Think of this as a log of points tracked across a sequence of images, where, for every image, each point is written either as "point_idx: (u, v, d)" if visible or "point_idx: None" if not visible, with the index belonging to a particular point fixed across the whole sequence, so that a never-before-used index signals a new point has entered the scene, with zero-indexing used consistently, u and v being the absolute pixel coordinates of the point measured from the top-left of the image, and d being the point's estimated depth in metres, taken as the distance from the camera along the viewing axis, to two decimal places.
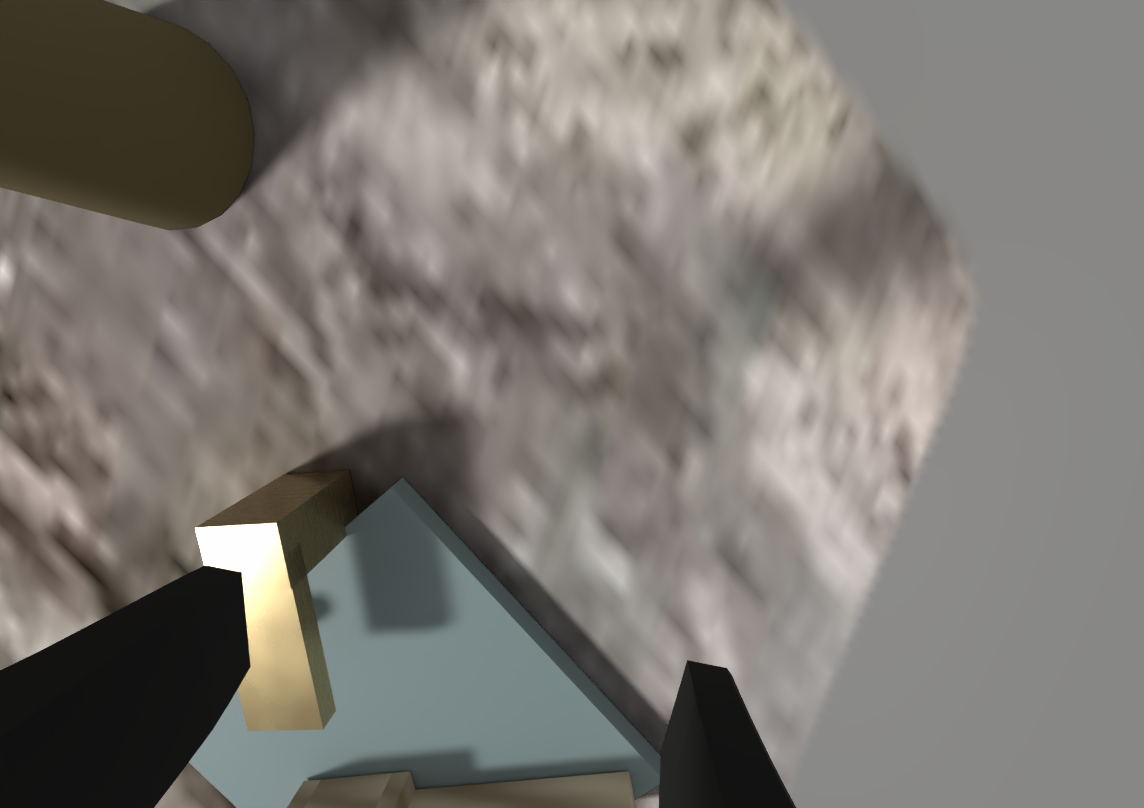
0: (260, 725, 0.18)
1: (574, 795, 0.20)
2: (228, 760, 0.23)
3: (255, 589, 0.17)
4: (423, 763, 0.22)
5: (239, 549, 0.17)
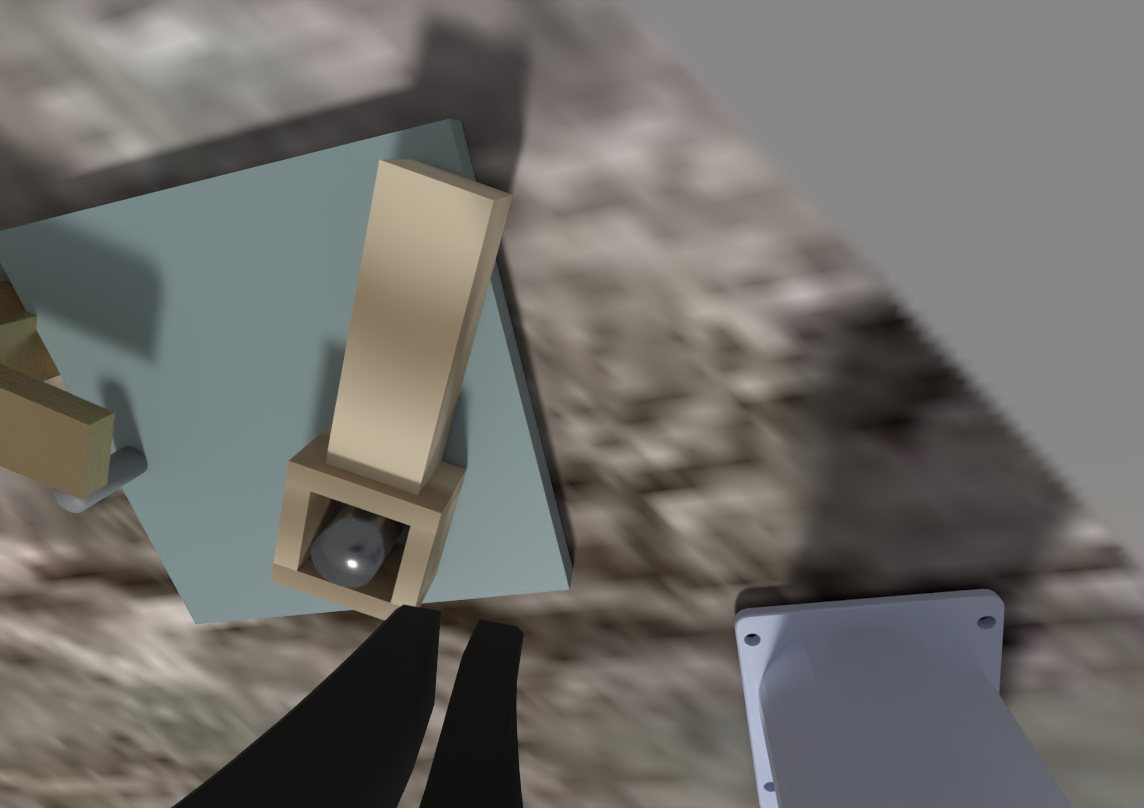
0: (76, 483, 0.16)
1: None
2: (272, 584, 0.21)
3: None
4: (331, 404, 0.18)
5: None
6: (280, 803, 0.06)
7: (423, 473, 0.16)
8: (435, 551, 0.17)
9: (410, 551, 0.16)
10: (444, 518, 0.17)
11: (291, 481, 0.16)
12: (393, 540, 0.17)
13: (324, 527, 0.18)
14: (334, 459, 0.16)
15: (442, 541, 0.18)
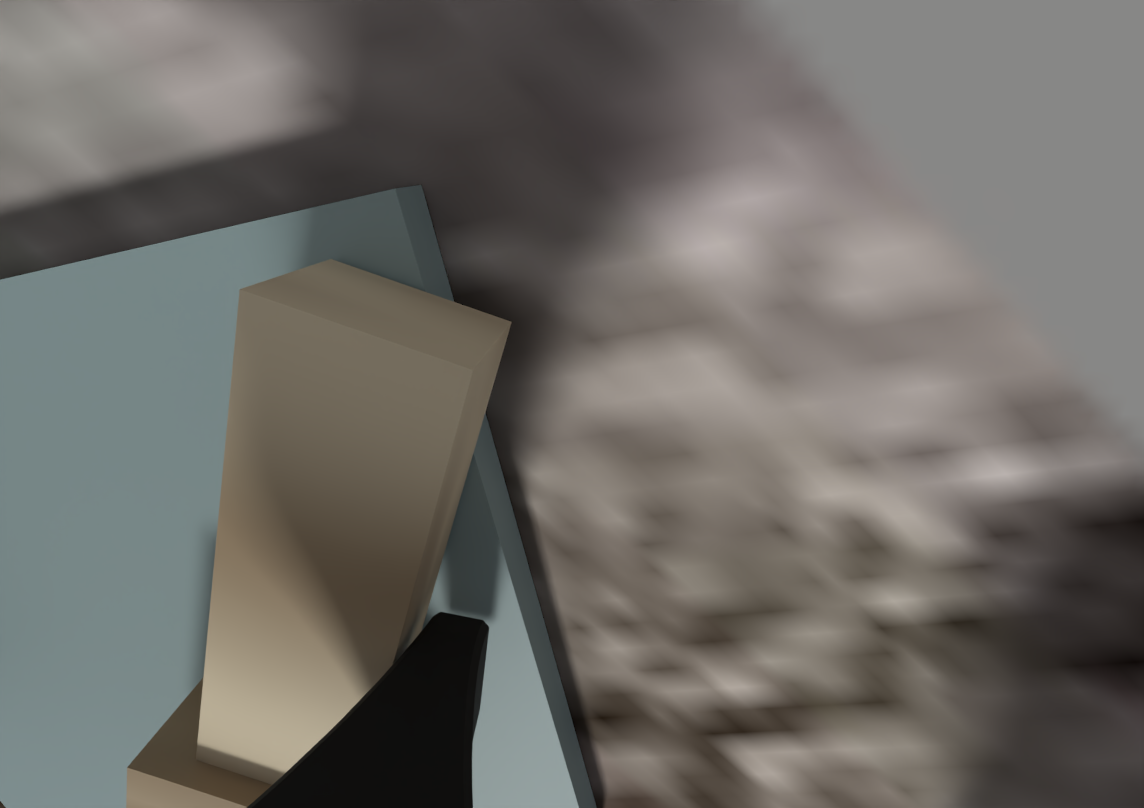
0: None
1: None
2: None
3: None
4: None
5: None
6: None
7: None
8: None
9: None
10: None
11: (139, 790, 0.09)
12: None
13: None
14: (210, 754, 0.09)
15: None
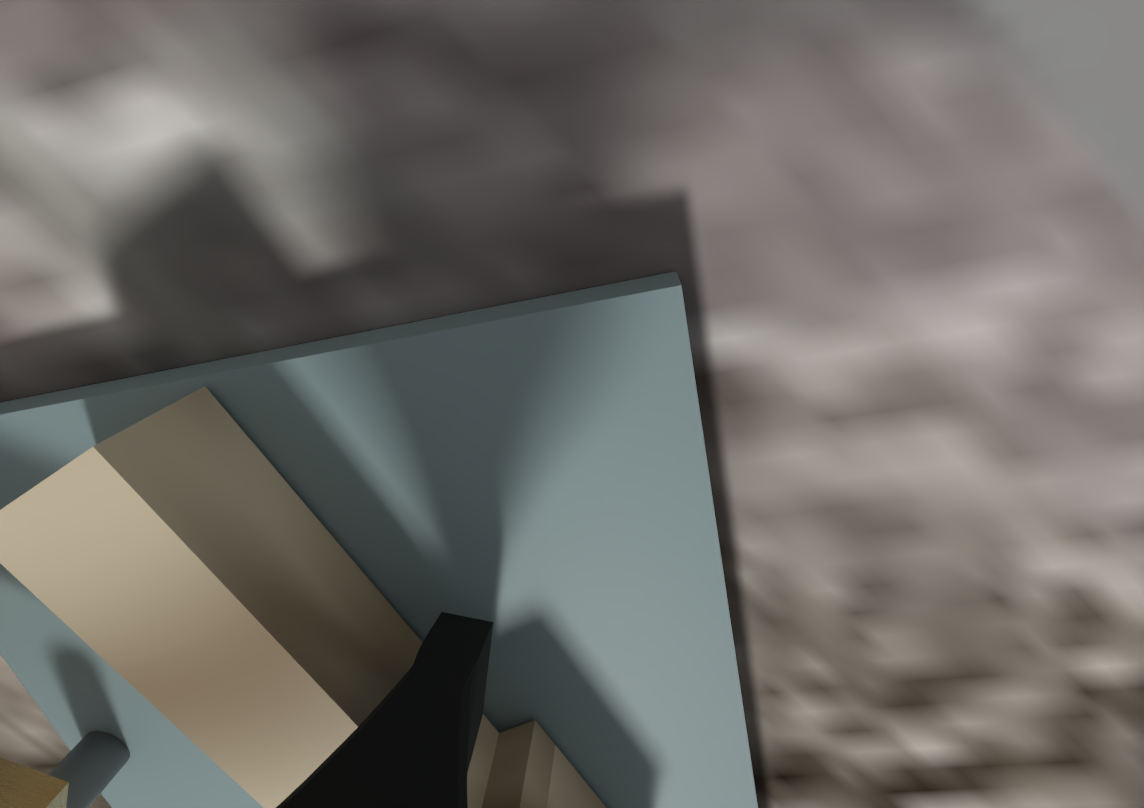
0: None
1: None
2: None
3: None
4: None
5: None
6: None
7: None
8: None
9: None
10: None
11: None
12: None
13: None
14: None
15: None
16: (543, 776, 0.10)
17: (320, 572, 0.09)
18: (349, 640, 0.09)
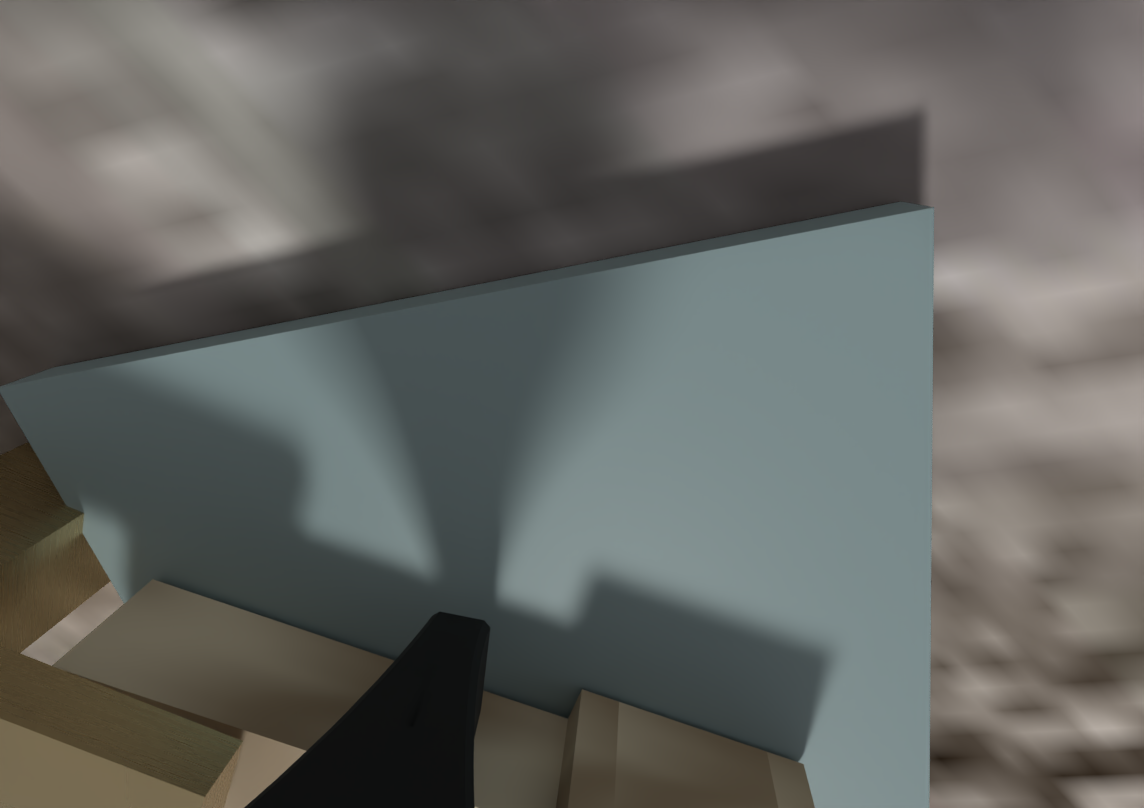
0: None
1: None
2: None
3: None
4: (582, 660, 0.10)
5: None
6: None
7: None
8: None
9: None
10: (616, 789, 0.09)
11: None
12: None
13: None
14: None
15: (703, 766, 0.10)
16: (605, 735, 0.10)
17: (303, 665, 0.10)
18: (348, 706, 0.10)
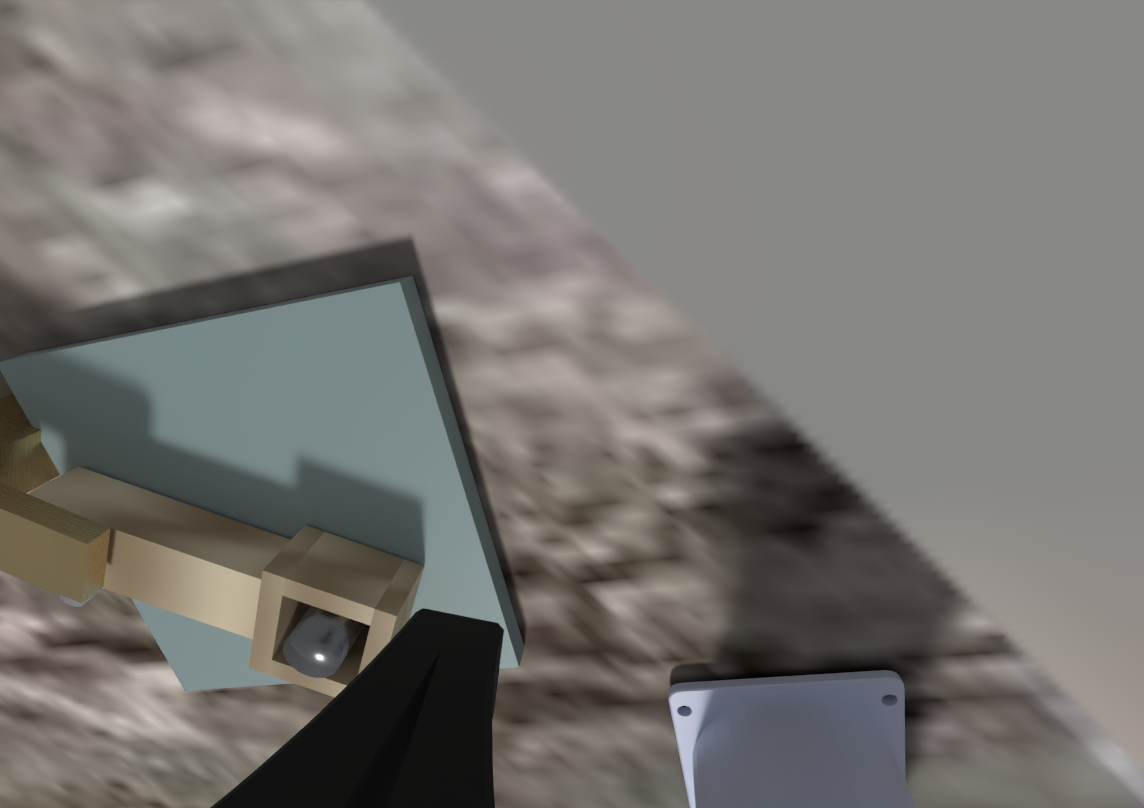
0: (76, 590, 0.18)
1: None
2: None
3: None
4: (303, 508, 0.20)
5: None
6: None
7: (246, 573, 0.18)
8: (337, 574, 0.19)
9: (309, 600, 0.18)
10: (300, 561, 0.19)
11: (271, 670, 0.20)
12: (357, 632, 0.19)
13: (358, 649, 0.21)
14: (252, 633, 0.19)
15: (358, 560, 0.19)
16: (307, 543, 0.19)
17: (154, 508, 0.20)
18: (174, 526, 0.19)
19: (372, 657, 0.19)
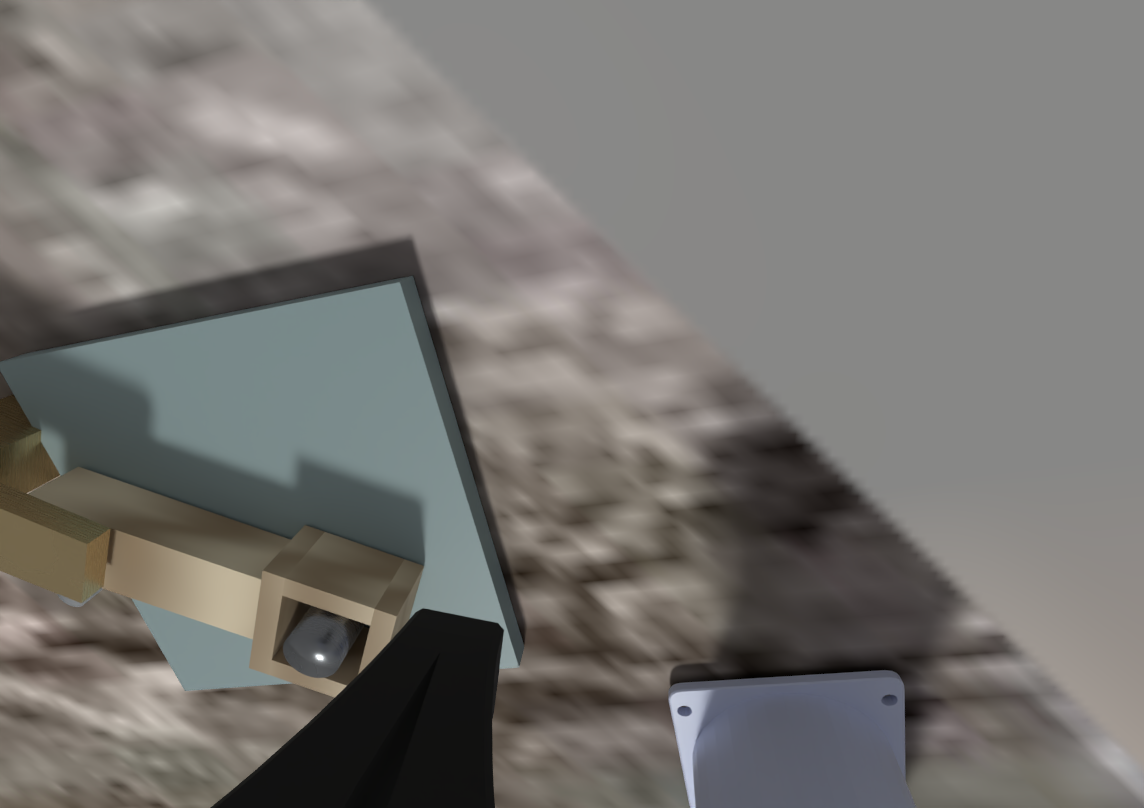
0: (76, 590, 0.18)
1: None
2: None
3: None
4: (303, 508, 0.20)
5: None
6: None
7: (246, 573, 0.18)
8: (337, 574, 0.19)
9: (309, 600, 0.18)
10: (300, 561, 0.19)
11: (271, 670, 0.20)
12: (357, 632, 0.19)
13: (358, 649, 0.21)
14: (252, 633, 0.19)
15: (358, 560, 0.19)
16: (307, 543, 0.19)
17: (154, 508, 0.20)
18: (174, 526, 0.19)
19: (372, 657, 0.19)
